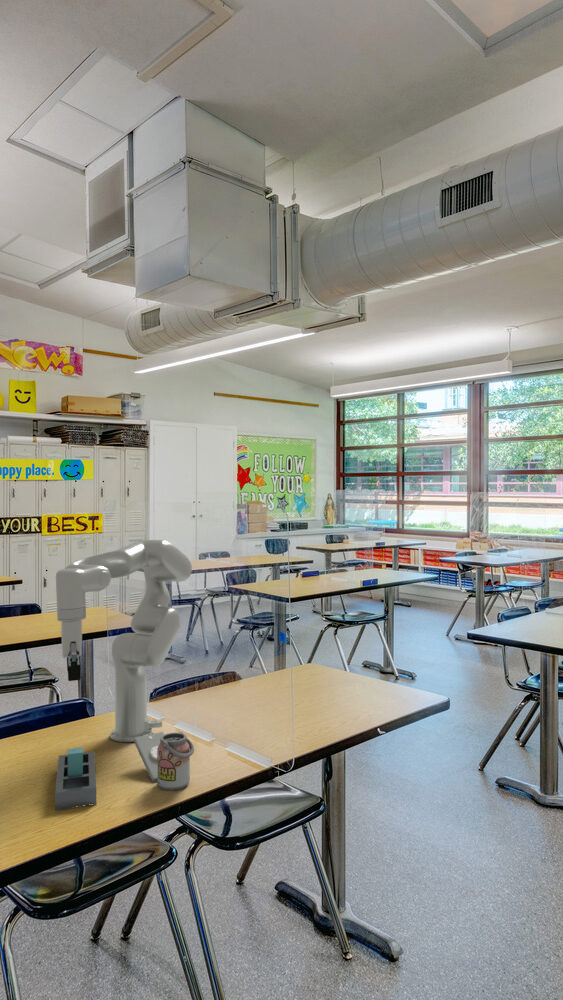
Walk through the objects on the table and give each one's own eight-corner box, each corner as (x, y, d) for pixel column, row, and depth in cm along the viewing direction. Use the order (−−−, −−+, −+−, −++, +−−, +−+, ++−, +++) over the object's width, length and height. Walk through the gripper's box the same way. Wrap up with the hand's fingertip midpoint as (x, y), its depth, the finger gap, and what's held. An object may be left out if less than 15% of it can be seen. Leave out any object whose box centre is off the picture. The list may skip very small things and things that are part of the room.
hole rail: (94, 765, 171) (94, 751, 172) (96, 804, 149) (96, 787, 149) (58, 770, 169) (58, 755, 169) (55, 810, 146) (55, 793, 146)
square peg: (82, 782, 161) (82, 747, 161) (82, 788, 157) (82, 752, 158) (68, 784, 160) (68, 749, 160) (67, 790, 156) (67, 754, 157)
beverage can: (199, 781, 161) (199, 734, 161) (182, 794, 153) (182, 745, 154) (169, 775, 165) (169, 729, 165) (150, 788, 157) (150, 740, 157)
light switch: (154, 776, 160) (134, 735, 171) (149, 793, 162) (130, 751, 173) (184, 768, 165) (163, 728, 175) (179, 784, 167) (159, 744, 178)
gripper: (56, 609, 179) (59, 668, 180) (57, 621, 163) (59, 686, 163) (84, 607, 182) (86, 665, 182) (87, 618, 166) (89, 682, 166)
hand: (73, 675), depth 173 cm, fingers open, 9 cm apart
